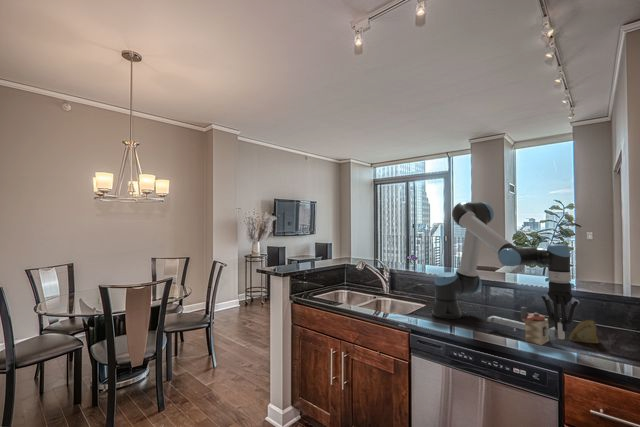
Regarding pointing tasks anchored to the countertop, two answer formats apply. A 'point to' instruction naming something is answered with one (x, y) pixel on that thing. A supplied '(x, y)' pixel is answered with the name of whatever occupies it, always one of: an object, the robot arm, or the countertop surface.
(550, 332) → the hook bar
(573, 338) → the rock
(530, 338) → the eye block
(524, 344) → the countertop surface
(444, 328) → the countertop surface
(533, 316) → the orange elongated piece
